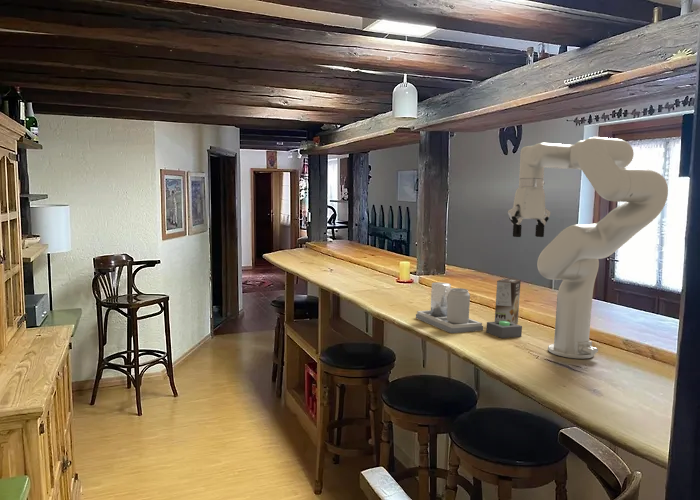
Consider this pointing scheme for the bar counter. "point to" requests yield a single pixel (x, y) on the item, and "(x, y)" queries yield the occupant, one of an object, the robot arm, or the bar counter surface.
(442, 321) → the grey compartment tray
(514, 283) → the coffee box
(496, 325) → the console
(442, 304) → the block
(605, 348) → the bar counter surface
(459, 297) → the can
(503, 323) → the button
